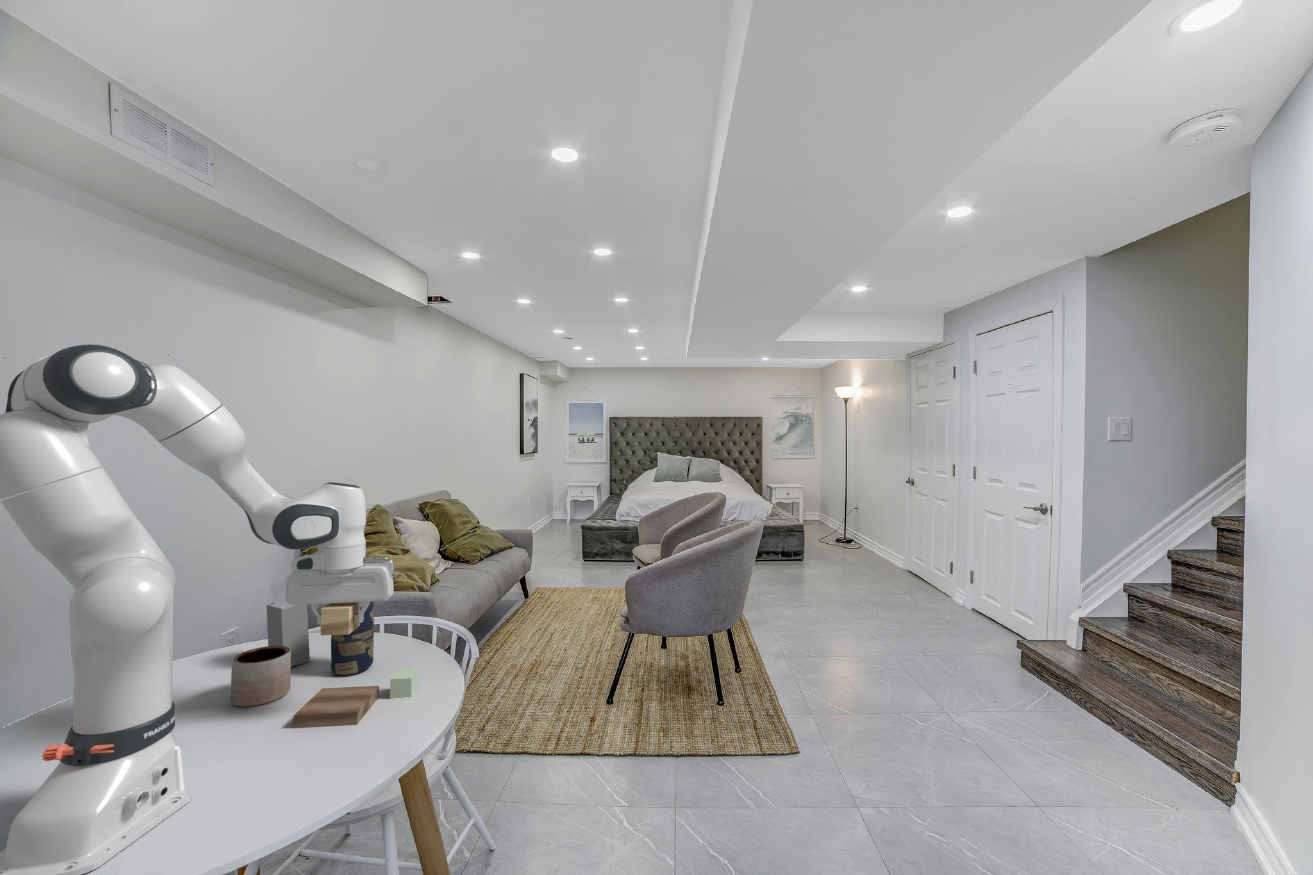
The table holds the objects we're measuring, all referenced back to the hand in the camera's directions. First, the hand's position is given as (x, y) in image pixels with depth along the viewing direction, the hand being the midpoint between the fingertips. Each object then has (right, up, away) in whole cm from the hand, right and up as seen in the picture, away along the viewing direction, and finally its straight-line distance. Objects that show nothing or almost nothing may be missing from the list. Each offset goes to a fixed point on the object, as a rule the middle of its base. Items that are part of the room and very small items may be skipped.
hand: (340, 622), depth 115 cm
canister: (-9, -19, +21) cm, 30 cm away
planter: (-21, -19, +6) cm, 29 cm away
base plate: (0, -19, 0) cm, 19 cm away
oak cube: (0, -2, 0) cm, 2 cm away
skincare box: (-28, -19, +24) cm, 42 cm away
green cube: (+10, -19, +8) cm, 23 cm away
